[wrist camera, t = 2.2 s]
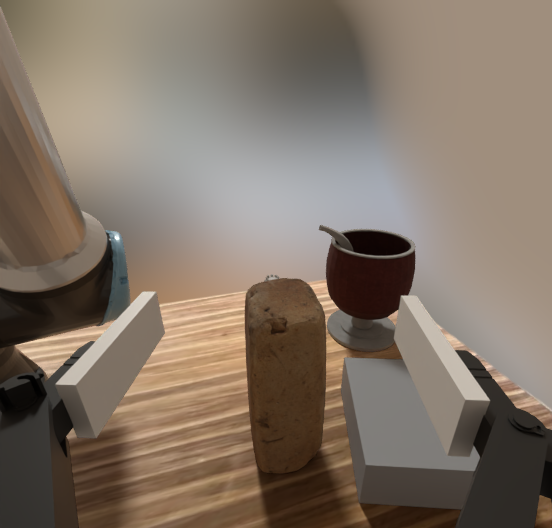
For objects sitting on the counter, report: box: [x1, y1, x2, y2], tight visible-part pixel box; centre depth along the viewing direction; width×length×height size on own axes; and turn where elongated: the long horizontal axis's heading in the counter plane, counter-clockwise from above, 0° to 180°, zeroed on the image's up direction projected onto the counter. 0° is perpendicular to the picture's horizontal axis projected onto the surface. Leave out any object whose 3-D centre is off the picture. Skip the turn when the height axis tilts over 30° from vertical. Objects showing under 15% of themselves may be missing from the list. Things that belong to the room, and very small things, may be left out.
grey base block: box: [341, 358, 480, 510], centre depth 35 cm, size 14×14×6 cm
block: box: [245, 278, 326, 473], centre depth 33 cm, size 11×8×20 cm
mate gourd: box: [319, 225, 415, 352], centre depth 51 cm, size 16×14×20 cm
